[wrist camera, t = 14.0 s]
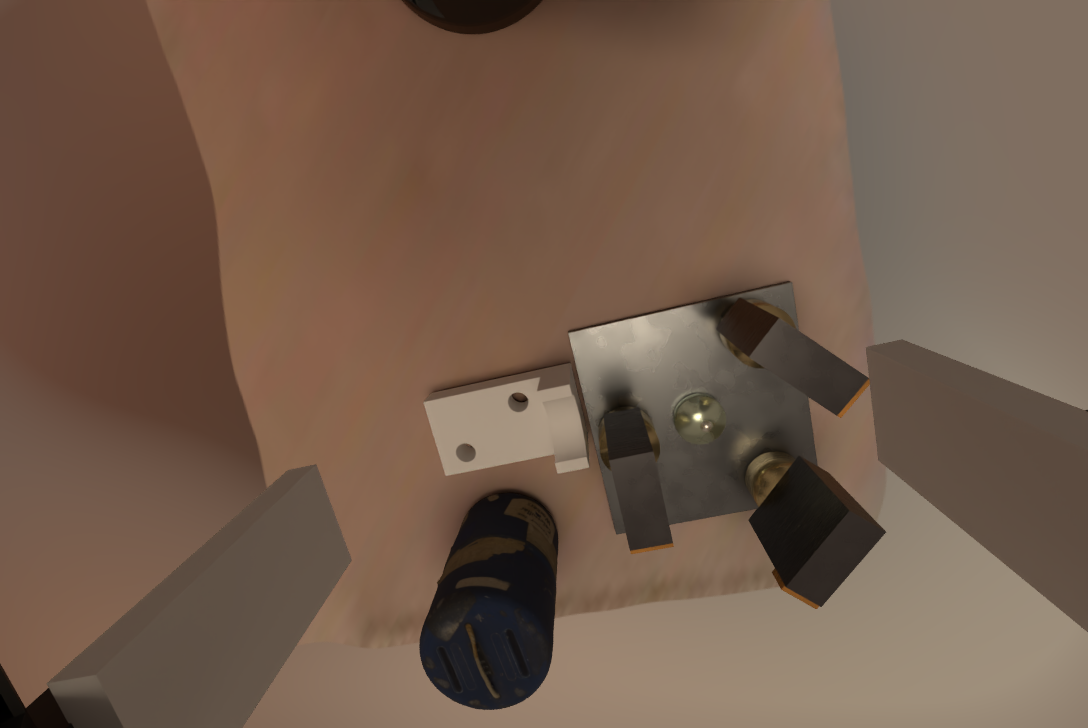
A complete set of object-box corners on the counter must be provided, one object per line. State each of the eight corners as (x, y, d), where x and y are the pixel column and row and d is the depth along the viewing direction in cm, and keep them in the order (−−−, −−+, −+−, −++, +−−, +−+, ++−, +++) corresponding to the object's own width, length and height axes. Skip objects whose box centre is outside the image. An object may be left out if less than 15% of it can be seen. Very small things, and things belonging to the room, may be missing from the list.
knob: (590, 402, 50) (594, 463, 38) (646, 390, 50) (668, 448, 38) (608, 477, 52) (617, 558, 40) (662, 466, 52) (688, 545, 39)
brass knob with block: (773, 432, 50) (837, 503, 38) (820, 460, 50) (898, 539, 38) (725, 497, 52) (770, 584, 40) (770, 523, 52) (829, 617, 40)
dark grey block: (698, 330, 48) (738, 370, 36) (734, 280, 47) (789, 304, 35) (768, 376, 49) (831, 431, 37) (806, 329, 48) (885, 368, 35)
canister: (467, 574, 57) (418, 732, 40) (456, 488, 55) (400, 616, 37) (562, 571, 56) (555, 731, 39) (556, 484, 54) (546, 613, 36)
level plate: (568, 331, 50) (568, 336, 48) (788, 281, 48) (798, 284, 46) (615, 529, 55) (617, 542, 53) (818, 492, 52) (828, 504, 50)
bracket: (570, 360, 51) (569, 384, 44) (587, 432, 53) (589, 467, 45) (433, 389, 52) (409, 418, 45) (454, 459, 54) (434, 497, 47)
